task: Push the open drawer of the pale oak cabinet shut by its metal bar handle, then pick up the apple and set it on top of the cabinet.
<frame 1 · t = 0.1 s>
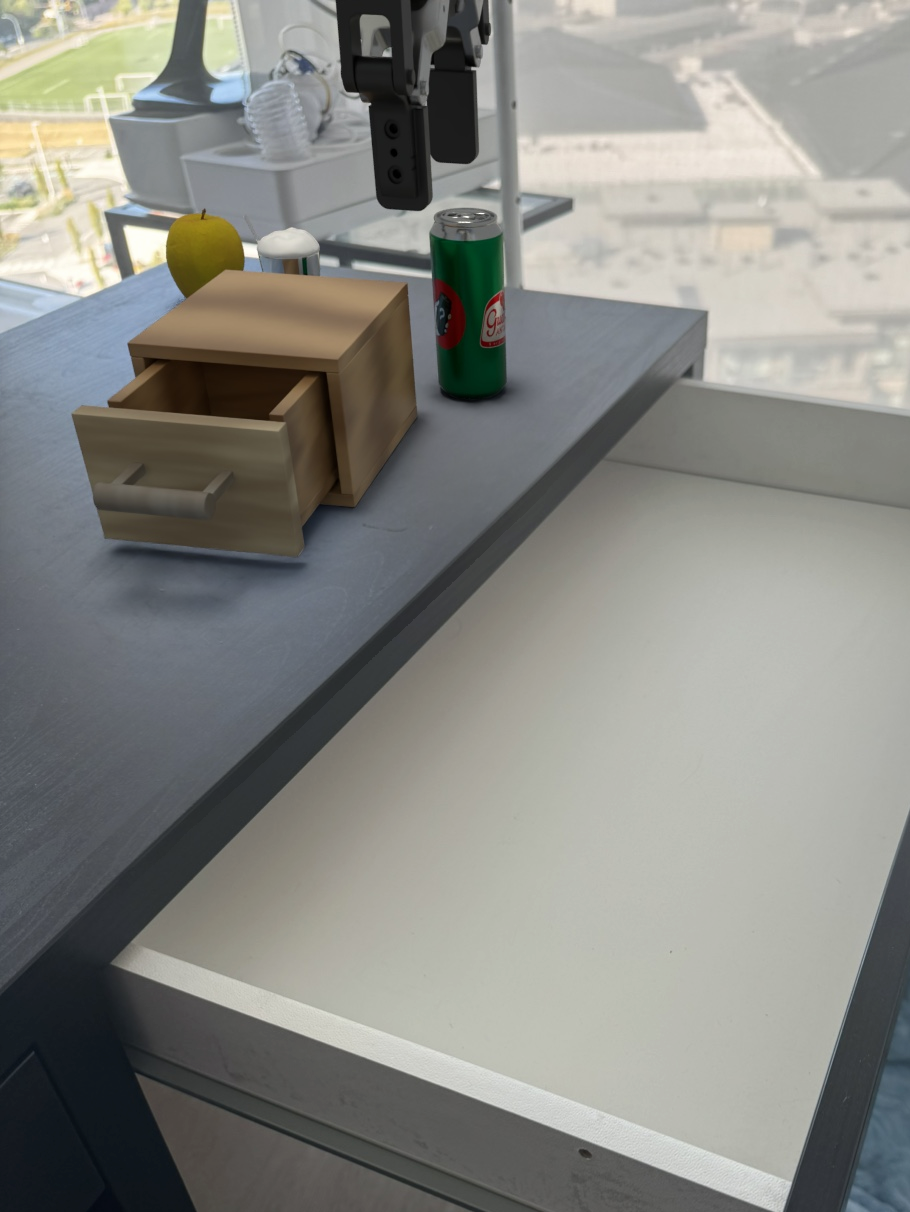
hand: (431, 183, 51), 20 cm above the table, tool pointing down, fingers open, 8 cm apart
drawer: (220, 452, 67), point 5 cm above the table, slide at 7.0 cm
milkshake: (298, 358, 92), on the table
soda can: (473, 392, 87), on the table
cabinet: (297, 450, 78), on the table
apple: (215, 308, 100), on the table
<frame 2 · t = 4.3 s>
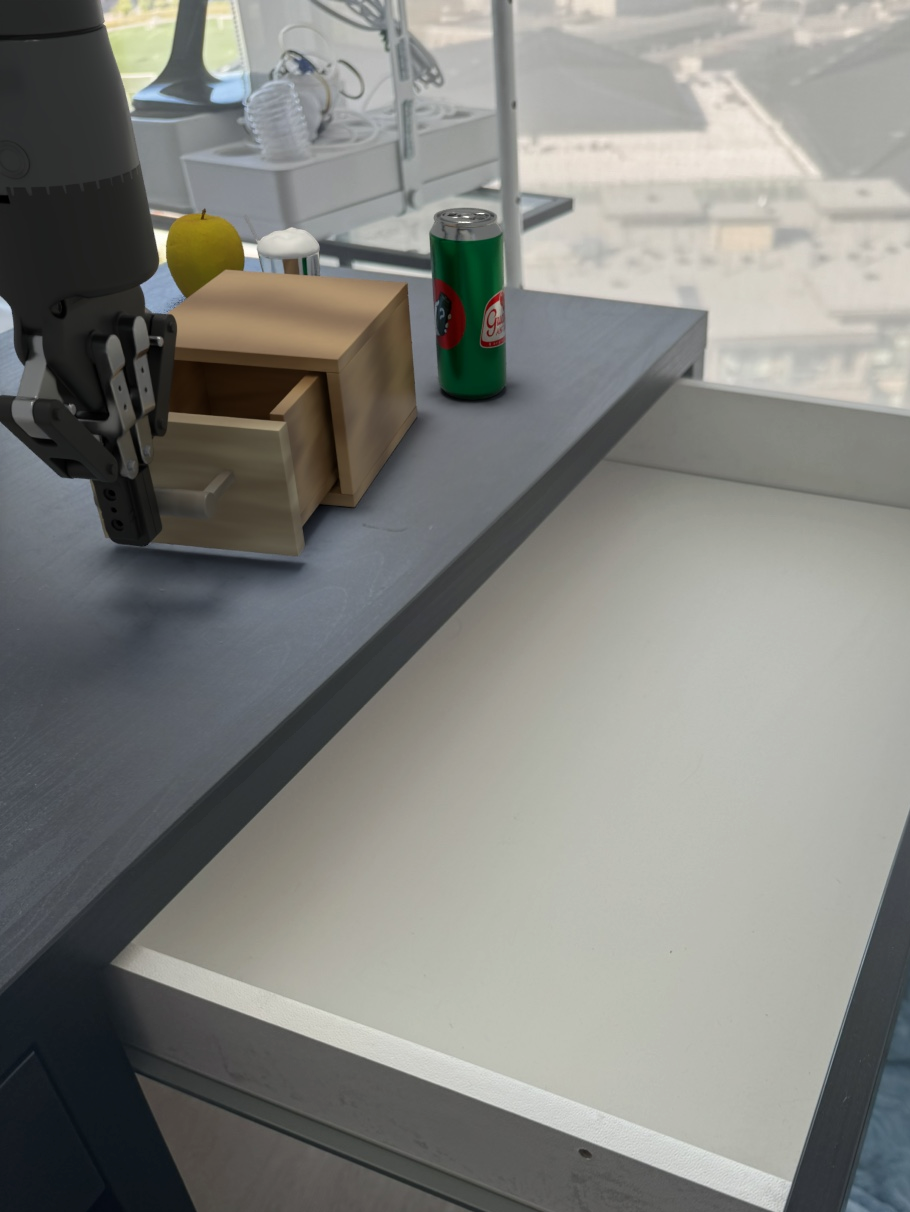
hand: (137, 538, 59), 4 cm above the table, tool pointing down, fingers closed
drawer: (221, 452, 67), point 5 cm above the table, slide at 6.9 cm, touching gripper
everything else where it was.
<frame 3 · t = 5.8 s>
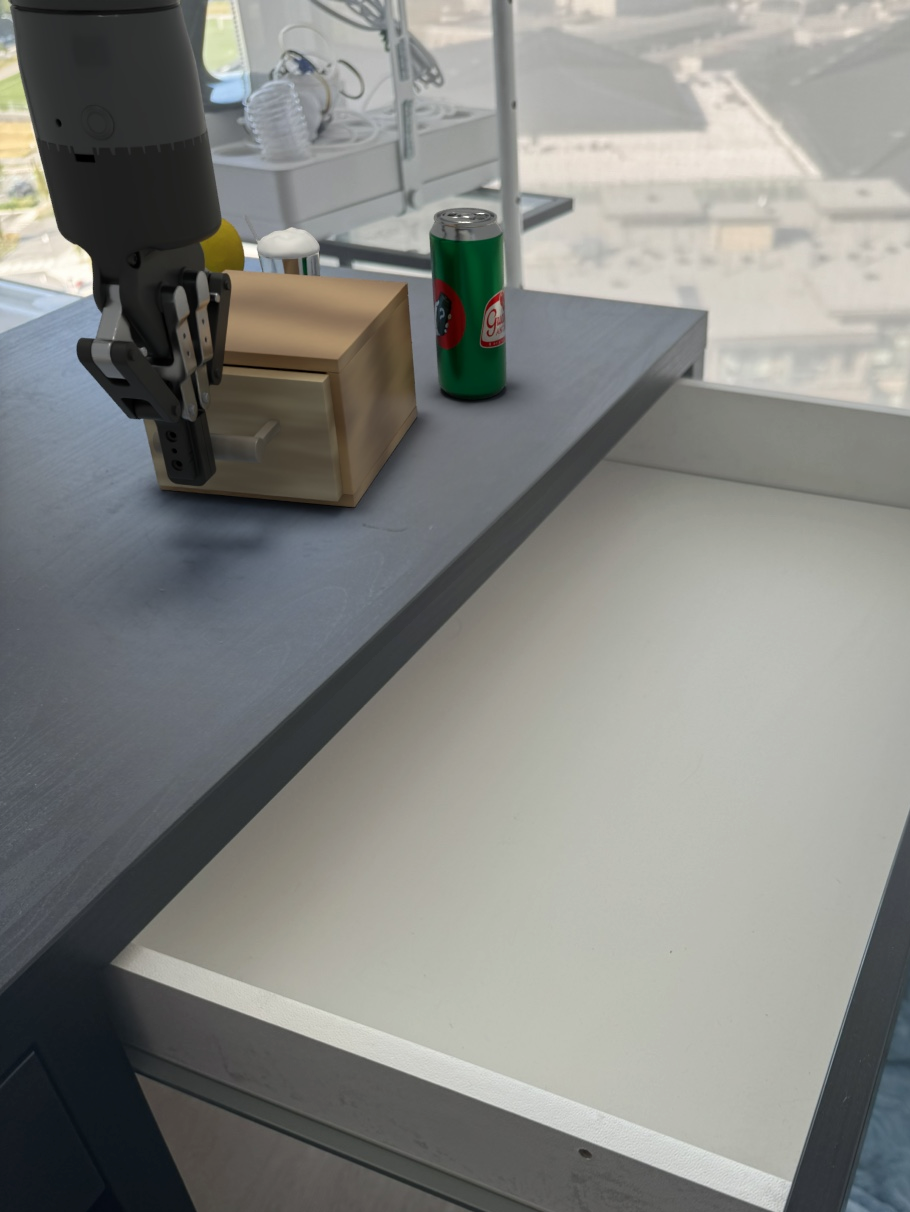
hand: (193, 479, 64), 4 cm above the table, tool pointing down, fingers closed
drawer: (265, 406, 72), point 5 cm above the table, slide at 0.0 cm, touching cabinet, gripper
everything else where it was.
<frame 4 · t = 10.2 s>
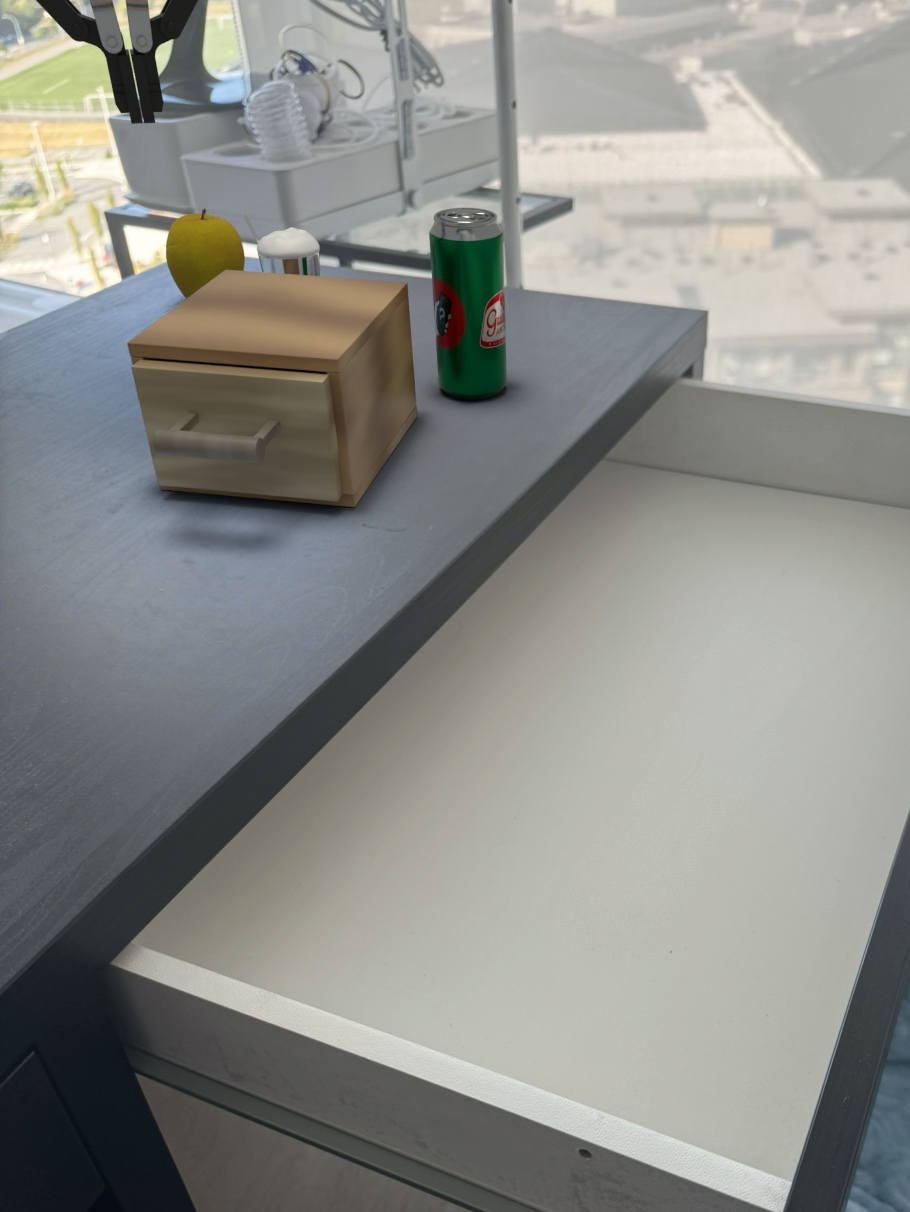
hand: (142, 120, 73), 18 cm above the table, tool pointing down, fingers closed
drawer: (265, 406, 72), point 5 cm above the table, slide at 0.0 cm, touching cabinet
everything else where it was.
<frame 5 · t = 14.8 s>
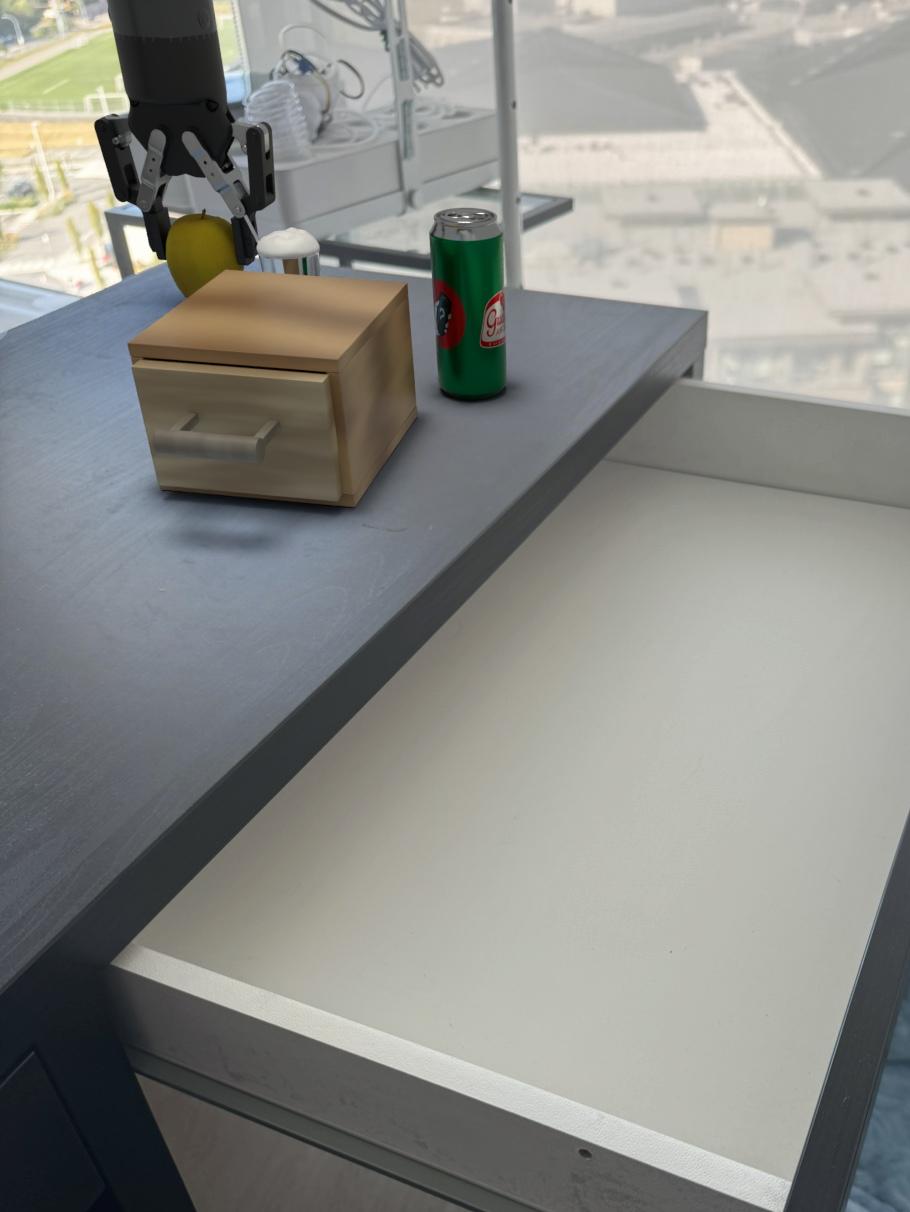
hand: (206, 259, 98), 4 cm above the table, tool pointing down, fingers closed on apple, 6 cm apart
apple: (215, 308, 100), on the table, touching gripper
everything else where it was.
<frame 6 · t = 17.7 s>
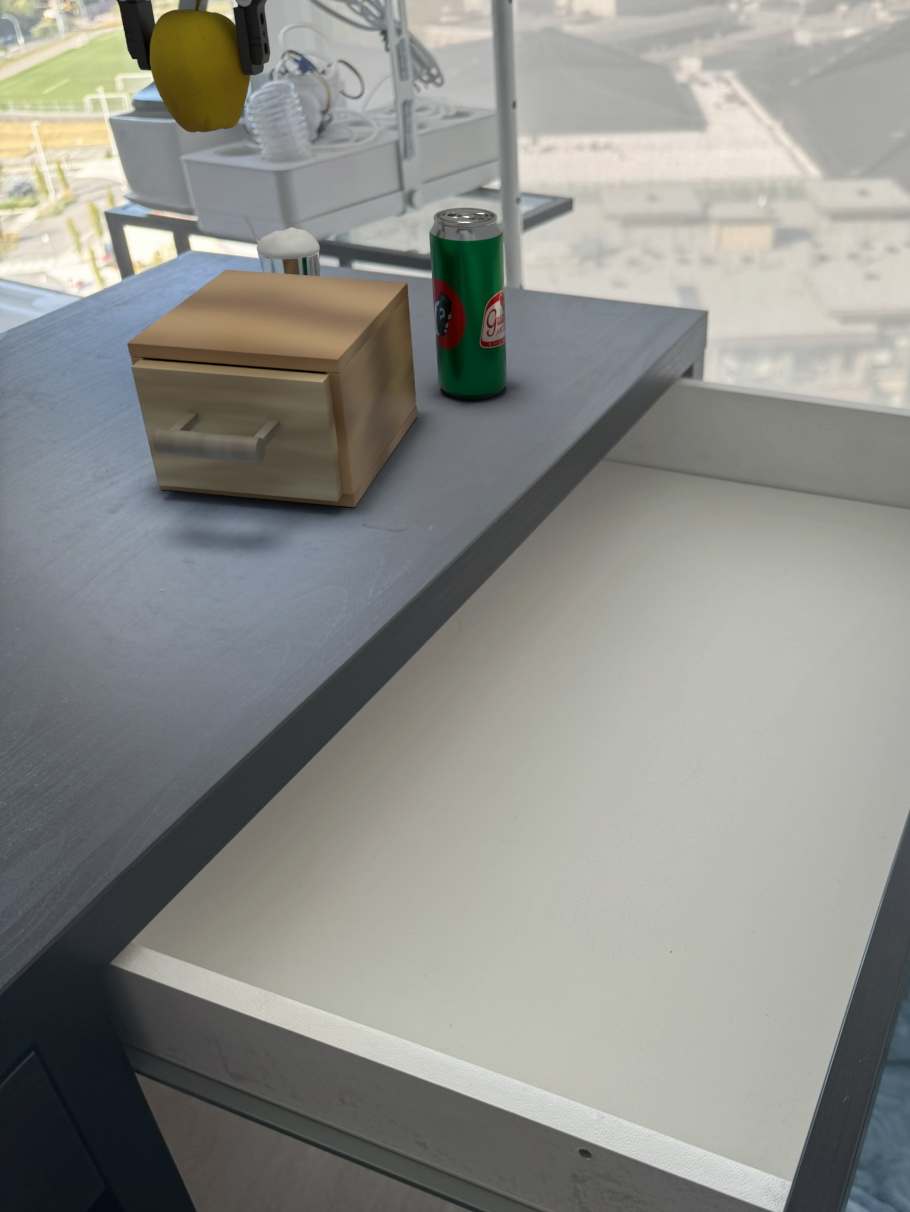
hand: (201, 70, 77), 20 cm above the table, tool pointing down, fingers closed on apple, 6 cm apart
apple: (212, 137, 79), point 16 cm above the table, touching gripper
everything else where it was.
when the fingers open (13 cm above the table, at t = 21.1 s): apple stays where it is, resting on cabinet.
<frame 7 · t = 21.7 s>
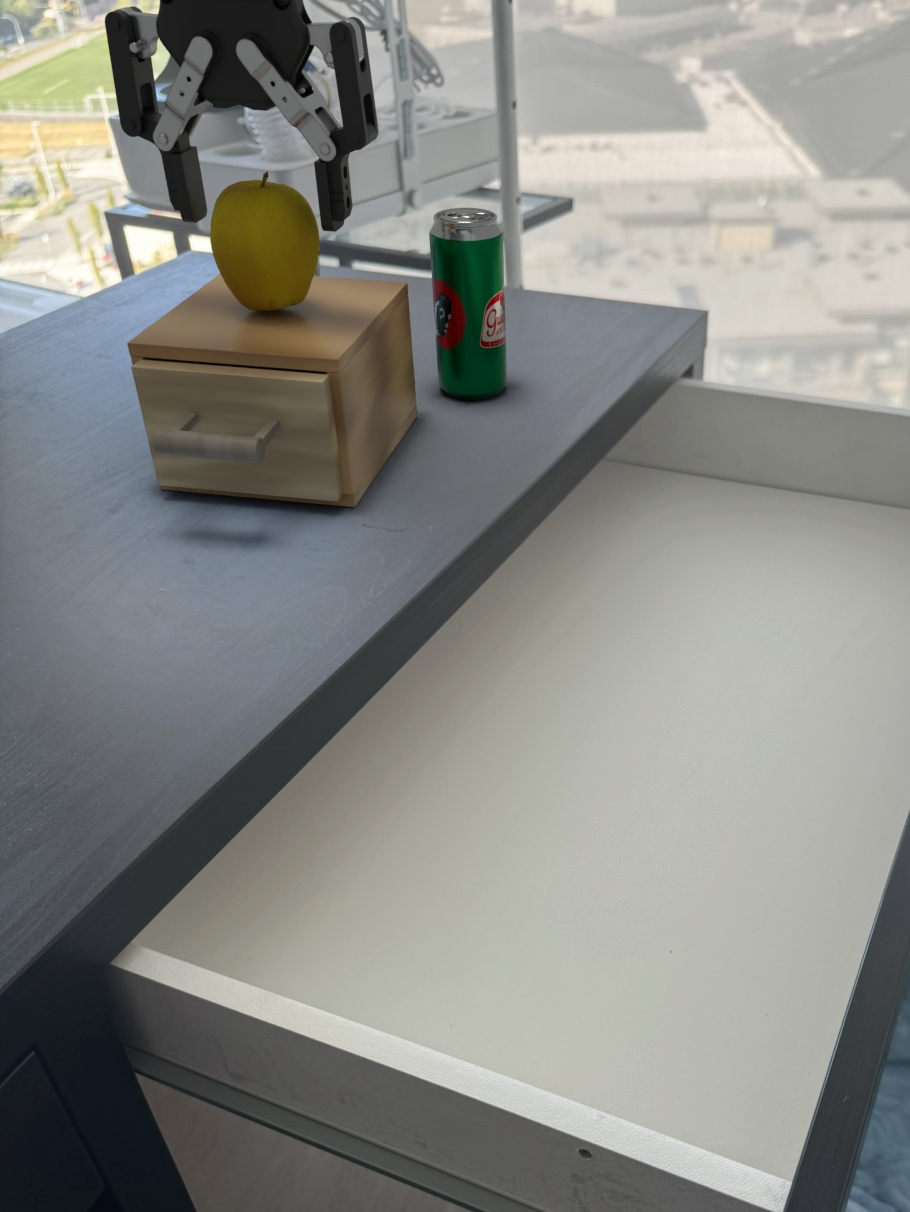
hand: (263, 223, 69), 14 cm above the table, tool pointing down, fingers open, 8 cm apart
apple: (276, 313, 72), point 9 cm above the table, touching cabinet
everything else where it was.
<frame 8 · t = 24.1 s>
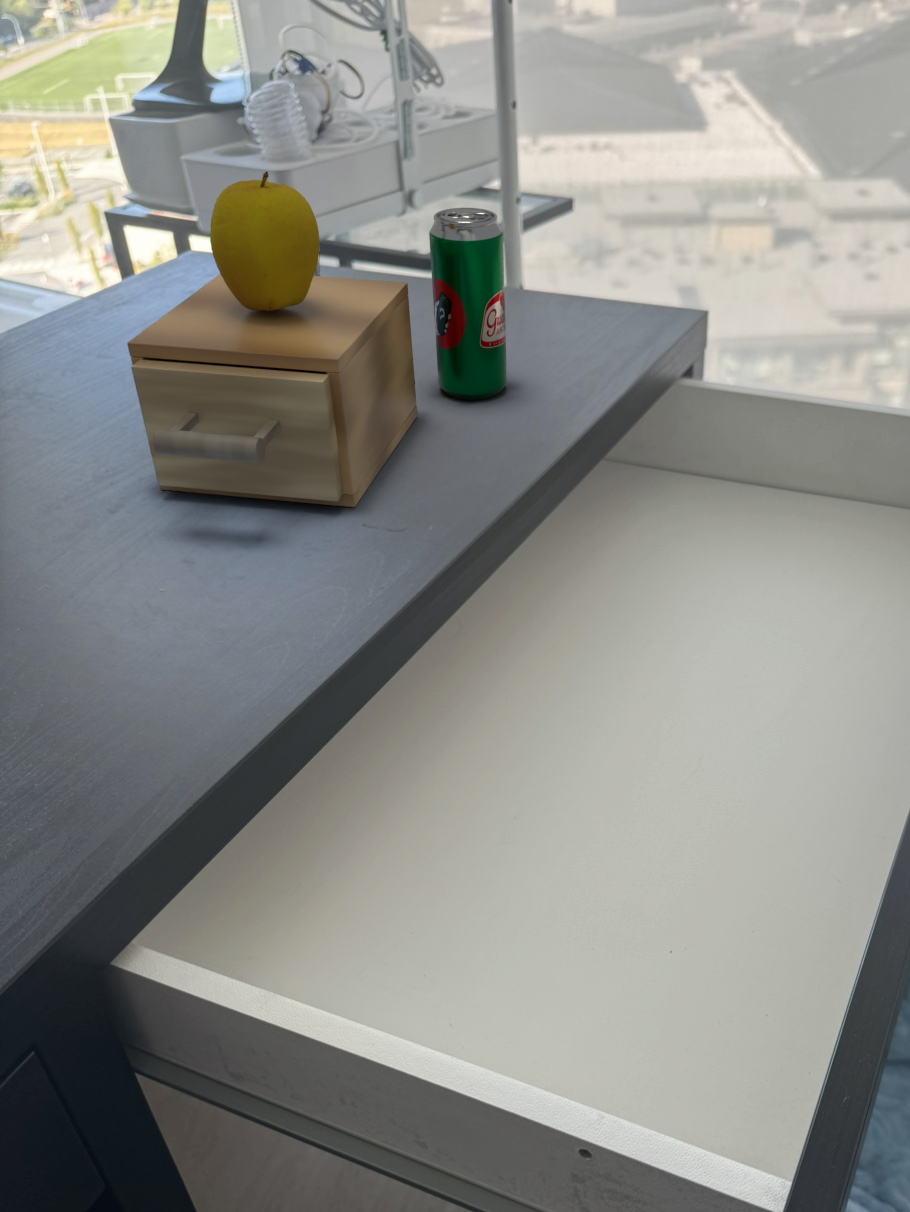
nothing on the table moved.
at the end: drawer slide at 0.0 cm; apple inside the target area on the cabinet (0.1 cm from its centre), point 8.9 cm above the cabinet's base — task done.
